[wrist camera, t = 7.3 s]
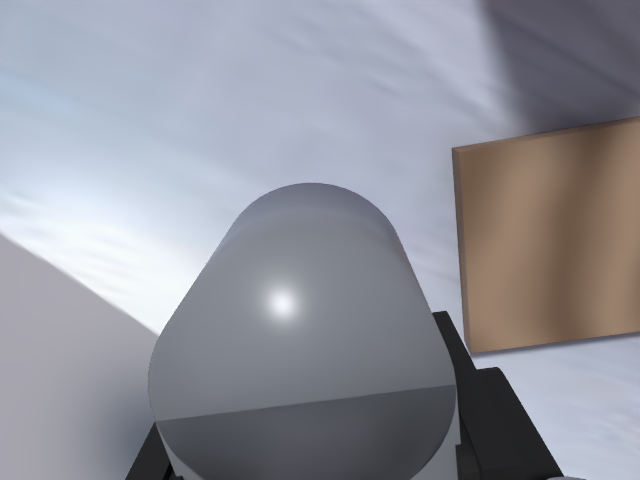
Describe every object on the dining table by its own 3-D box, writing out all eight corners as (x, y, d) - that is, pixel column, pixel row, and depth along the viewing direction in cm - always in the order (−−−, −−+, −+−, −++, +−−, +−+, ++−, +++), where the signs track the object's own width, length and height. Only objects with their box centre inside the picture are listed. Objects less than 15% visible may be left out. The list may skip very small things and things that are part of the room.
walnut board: (690, 107, 24) (713, 109, 22) (666, 313, 28) (684, 325, 27) (451, 148, 25) (459, 152, 23) (464, 340, 29) (471, 353, 28)
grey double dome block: (394, 167, 8) (445, 238, 5) (436, 545, 12) (483, 749, 9) (199, 200, 9) (103, 289, 5) (299, 558, 13) (286, 761, 9)
